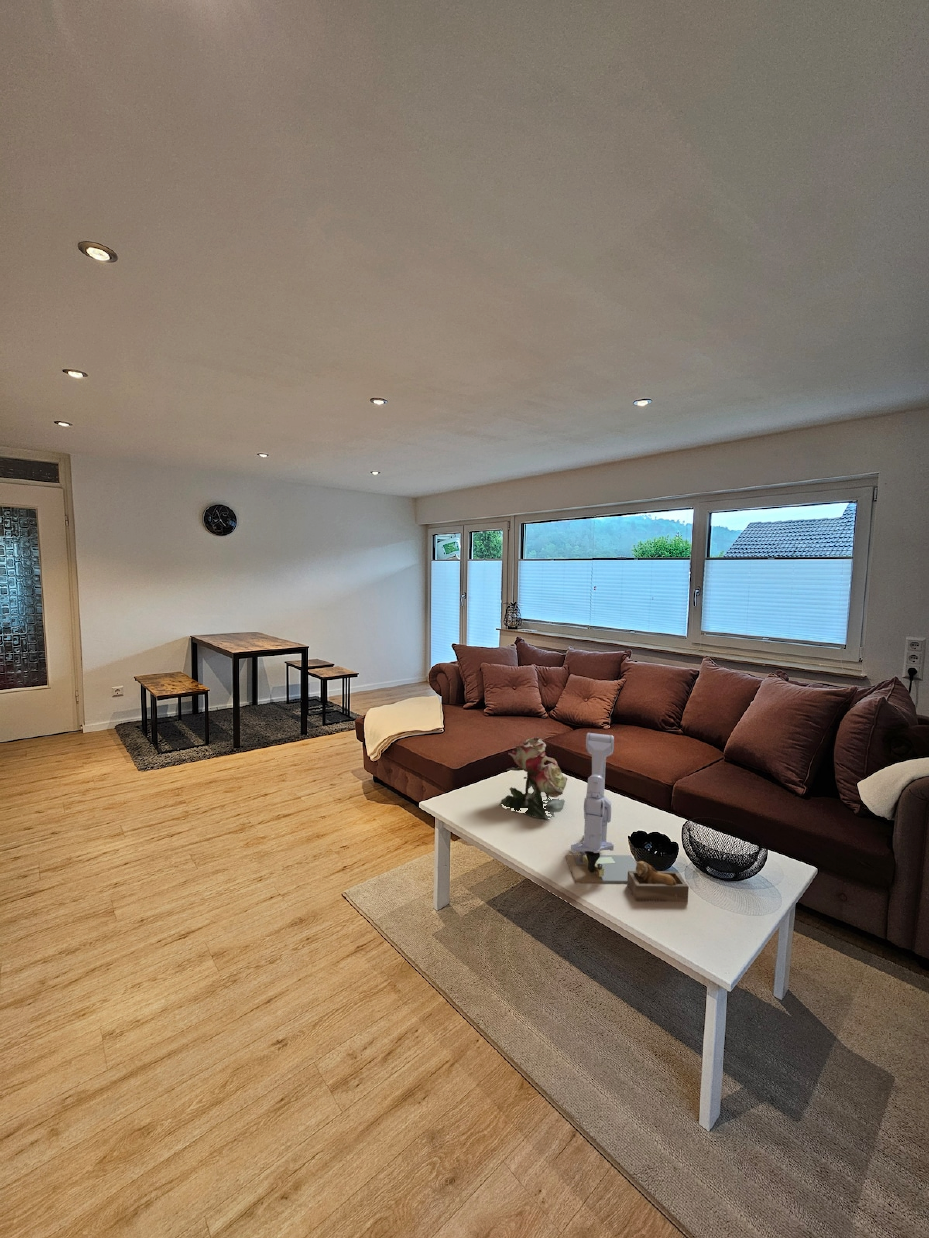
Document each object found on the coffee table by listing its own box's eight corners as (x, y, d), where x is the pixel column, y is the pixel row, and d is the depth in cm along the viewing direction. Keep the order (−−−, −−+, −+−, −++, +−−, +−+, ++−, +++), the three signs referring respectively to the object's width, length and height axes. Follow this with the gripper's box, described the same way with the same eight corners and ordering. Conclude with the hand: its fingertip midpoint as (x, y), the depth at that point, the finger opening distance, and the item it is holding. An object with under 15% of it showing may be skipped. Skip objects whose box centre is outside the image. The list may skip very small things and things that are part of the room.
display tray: (627, 885, 169) (627, 870, 169) (676, 885, 169) (677, 871, 169) (636, 901, 161) (636, 885, 160) (687, 901, 161) (688, 886, 161)
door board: (565, 856, 186) (565, 844, 186) (630, 857, 187) (631, 845, 186) (575, 882, 170) (576, 869, 170) (647, 883, 171) (647, 870, 170)
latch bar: (582, 861, 180) (583, 852, 180) (587, 861, 180) (587, 851, 180) (599, 876, 171) (599, 866, 171) (603, 875, 172) (604, 865, 171)
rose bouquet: (558, 824, 211) (561, 753, 209) (495, 807, 226) (497, 741, 223) (577, 801, 233) (580, 737, 231) (518, 787, 248) (520, 727, 246)
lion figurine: (633, 890, 166) (635, 864, 165) (635, 882, 171) (636, 856, 170) (683, 903, 160) (684, 875, 159) (683, 894, 165) (684, 867, 164)
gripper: (577, 839, 168) (575, 879, 169) (618, 836, 170) (616, 876, 171) (569, 829, 175) (567, 867, 176) (609, 826, 177) (607, 864, 178)
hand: (591, 870), depth 174 cm, fingers closed, pressing on latch bar
